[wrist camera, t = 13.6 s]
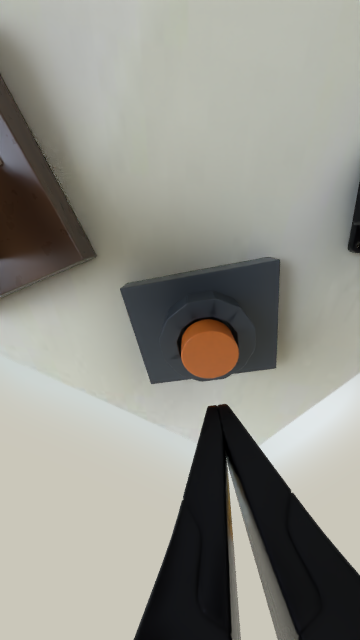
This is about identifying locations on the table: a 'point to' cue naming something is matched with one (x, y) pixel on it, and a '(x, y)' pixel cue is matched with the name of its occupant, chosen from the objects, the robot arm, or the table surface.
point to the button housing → (206, 315)
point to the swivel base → (32, 209)
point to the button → (209, 349)
